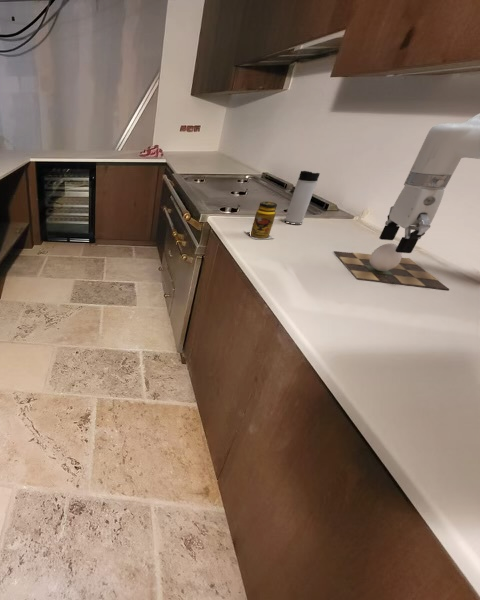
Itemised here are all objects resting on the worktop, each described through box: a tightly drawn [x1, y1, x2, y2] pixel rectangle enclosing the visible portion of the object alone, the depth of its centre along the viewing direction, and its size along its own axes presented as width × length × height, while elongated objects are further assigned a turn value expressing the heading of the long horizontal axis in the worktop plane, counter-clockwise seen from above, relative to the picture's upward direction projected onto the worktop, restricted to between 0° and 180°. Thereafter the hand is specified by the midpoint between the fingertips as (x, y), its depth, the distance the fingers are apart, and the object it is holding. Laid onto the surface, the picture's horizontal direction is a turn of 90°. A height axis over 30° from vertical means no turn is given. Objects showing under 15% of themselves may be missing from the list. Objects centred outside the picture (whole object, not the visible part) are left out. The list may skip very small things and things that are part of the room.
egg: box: [370, 243, 403, 271], centre depth 90 cm, size 6×6×8 cm
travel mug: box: [284, 170, 321, 225], centre depth 125 cm, size 6×7×20 cm
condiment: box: [245, 201, 278, 240], centre depth 115 cm, size 7×8×12 cm
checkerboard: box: [333, 250, 450, 291], centre depth 93 cm, size 20×20×1 cm
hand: (394, 245), depth 88 cm, fingers open, 9 cm apart
